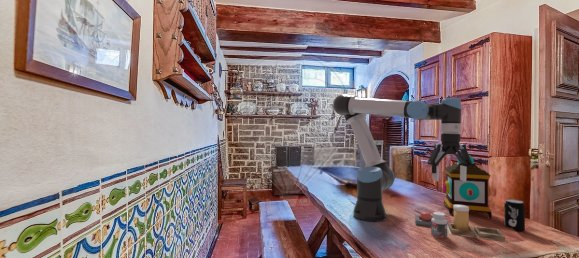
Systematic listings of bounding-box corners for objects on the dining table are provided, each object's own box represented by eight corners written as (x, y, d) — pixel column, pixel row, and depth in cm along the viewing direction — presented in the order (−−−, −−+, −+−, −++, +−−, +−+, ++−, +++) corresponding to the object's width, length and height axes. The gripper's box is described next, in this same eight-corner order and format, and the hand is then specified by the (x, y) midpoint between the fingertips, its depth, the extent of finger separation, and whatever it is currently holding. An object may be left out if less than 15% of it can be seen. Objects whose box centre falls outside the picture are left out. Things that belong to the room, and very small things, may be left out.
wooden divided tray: (449, 237, 103) (449, 230, 103) (446, 228, 112) (446, 222, 113) (507, 245, 96) (507, 237, 96) (499, 235, 105) (499, 228, 105)
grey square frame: (415, 227, 114) (415, 220, 114) (415, 221, 121) (415, 215, 121) (436, 230, 110) (436, 223, 111) (435, 224, 118) (435, 217, 118)
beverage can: (528, 232, 108) (528, 203, 108) (510, 231, 109) (510, 202, 109) (518, 227, 114) (518, 199, 115) (501, 226, 116) (500, 198, 116)
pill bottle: (429, 239, 101) (429, 213, 101) (432, 235, 105) (432, 210, 105) (445, 243, 98) (445, 216, 98) (448, 238, 102) (448, 213, 102)
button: (420, 223, 115) (420, 213, 115) (420, 220, 118) (420, 211, 118) (430, 224, 113) (430, 215, 113) (430, 221, 117) (430, 212, 117)
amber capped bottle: (454, 232, 105) (454, 207, 105) (452, 228, 110) (452, 204, 110) (470, 234, 103) (470, 208, 103) (467, 230, 107) (467, 205, 107)
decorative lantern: (446, 215, 130) (446, 154, 131) (440, 205, 149) (440, 151, 149) (496, 220, 123) (495, 155, 123) (483, 209, 141) (483, 152, 142)
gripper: (430, 132, 113) (429, 182, 113) (482, 133, 116) (481, 182, 117) (419, 132, 120) (418, 179, 120) (468, 133, 124) (467, 178, 124)
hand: (449, 180), depth 118 cm, fingers open, 13 cm apart
